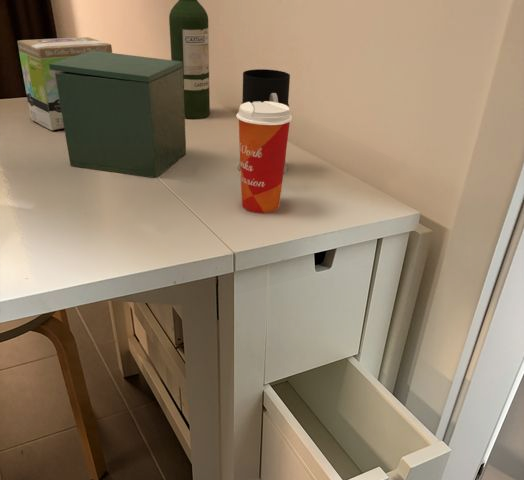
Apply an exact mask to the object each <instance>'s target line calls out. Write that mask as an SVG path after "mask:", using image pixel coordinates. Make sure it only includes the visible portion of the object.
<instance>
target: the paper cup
mask: <svg viewBox="0 0 524 480" xmlns="http://www.w3.org/2000/svg"><path fill="white" fill-rule="evenodd" d="M235 116H236V119H238V138H239V139H238V141H239V142H238V143H239V162H240V171H239V172H240V192H241V193H240V194H241V205H242V208H243V209H244V210H246V211H248V212H251V213H255V214H256V213H257V214H267V213H273V212H275V211H277V210H278V209H279V208H280V203H281V195H282V187H283V179H284V174H285V173H284V165H285V161H286V160H285V157H287V147H288V140H289V131H290V122H292V121H293V116H292V114H291V109H290V106H289V107H288V106H287V105H284V104H281V103H277V102H269V101H264V102H261V101H257V102H253V103H250V102H246V103H243V104H239V108H238V112H237V113H236V115H235ZM283 173H284V174H283Z"/></svg>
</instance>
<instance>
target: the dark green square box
mask: <svg viewBox="0 0 524 480" xmlns="http://www.w3.org/2000/svg"><path fill="white" fill-rule="evenodd" d="M55 76H56V82H57V88H58V94H59V100H60V106H61V112H62V118H63V124H64V128H63V129H64V130H63V131H64V135H65V136H64V137H65V142H66V147H67V154H68V158H69V165H70V167H76V168H82V169H90V170H97V171H104V172H111V173H118V174H126V175H133V176H138V177H139V176H141V177H146V178H147V177H148V178H154V179H156V178H158V177H159V176H161V175H162V174H163V173H164V172H165V171H167V170H168V169H169V168H171V166H173V165H174V164H175V163H176V162H178V161H179V160H180V159H182V158H183V157H184V156H185V155H187V143H186V142H187V140H186V139H187V138H186V118H185V113H184V88H183V68H182V67H181V68H179V69H177V70H175V71H173V72H171V73H168V74H166V75H164V76H162V77H160V78H158V79H155V80H153V81H151V82H149V83H148V82H140V81H133V80H125V79H116V78H107V77H102V76H94V75H87V74H79V73H72V72H64V71H60V72H57V73H55Z"/></svg>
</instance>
